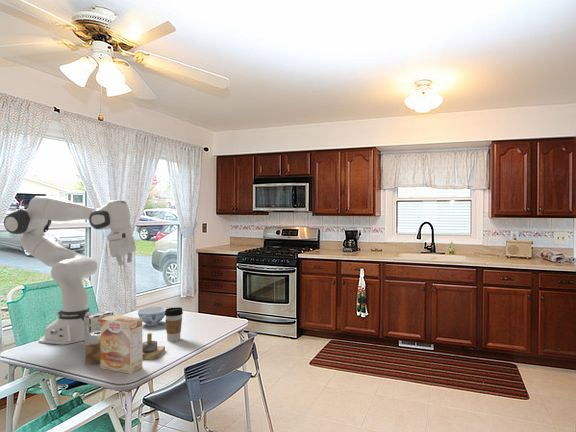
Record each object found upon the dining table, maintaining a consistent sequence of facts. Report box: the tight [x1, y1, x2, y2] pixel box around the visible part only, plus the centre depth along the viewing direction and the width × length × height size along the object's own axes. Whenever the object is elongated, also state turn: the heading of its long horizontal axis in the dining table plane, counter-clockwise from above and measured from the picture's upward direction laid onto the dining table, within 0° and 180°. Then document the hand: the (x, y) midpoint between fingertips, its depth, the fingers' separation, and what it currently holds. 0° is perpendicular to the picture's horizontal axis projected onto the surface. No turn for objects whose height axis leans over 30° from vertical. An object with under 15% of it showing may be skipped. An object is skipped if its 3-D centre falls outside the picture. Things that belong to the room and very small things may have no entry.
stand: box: [84, 343, 101, 366], centre depth 156 cm, size 7×7×10 cm
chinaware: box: [137, 306, 167, 327], centre depth 209 cm, size 15×15×8 cm
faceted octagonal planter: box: [89, 331, 101, 344], centre depth 156 cm, size 6×6×4 cm
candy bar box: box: [83, 310, 114, 348], centre depth 168 cm, size 11×5×16 cm, turn 148°
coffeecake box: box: [99, 314, 143, 375], centre depth 150 cm, size 15×7×20 cm, turn 69°
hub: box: [142, 332, 166, 360], centre depth 164 cm, size 10×10×9 cm
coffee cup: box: [165, 306, 184, 343], centre depth 184 cm, size 8×8×15 cm
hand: (125, 263), depth 178 cm, fingers open, 8 cm apart
